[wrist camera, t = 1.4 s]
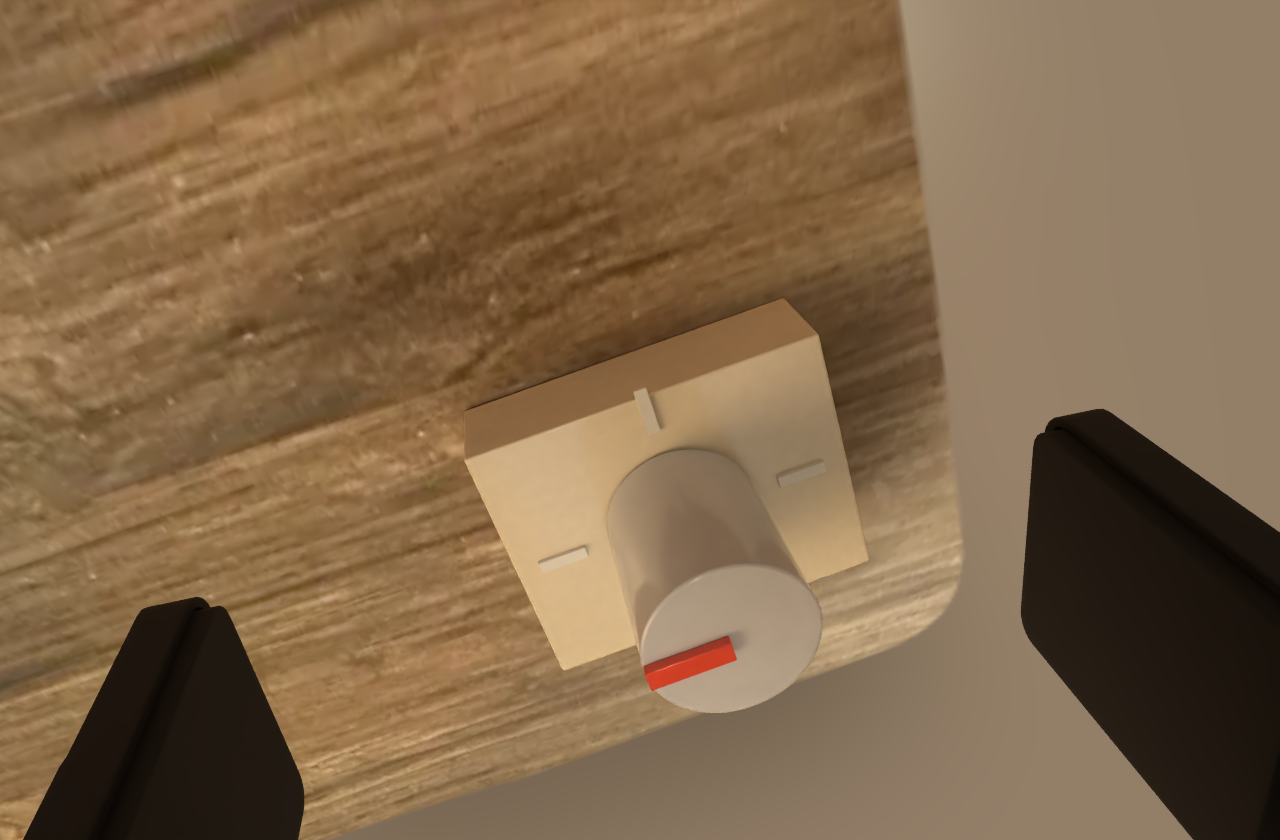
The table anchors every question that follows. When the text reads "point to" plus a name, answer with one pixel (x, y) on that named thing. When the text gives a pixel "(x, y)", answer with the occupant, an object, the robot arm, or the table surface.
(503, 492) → the panel
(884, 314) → the table surface
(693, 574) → the tap knob
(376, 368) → the table surface
